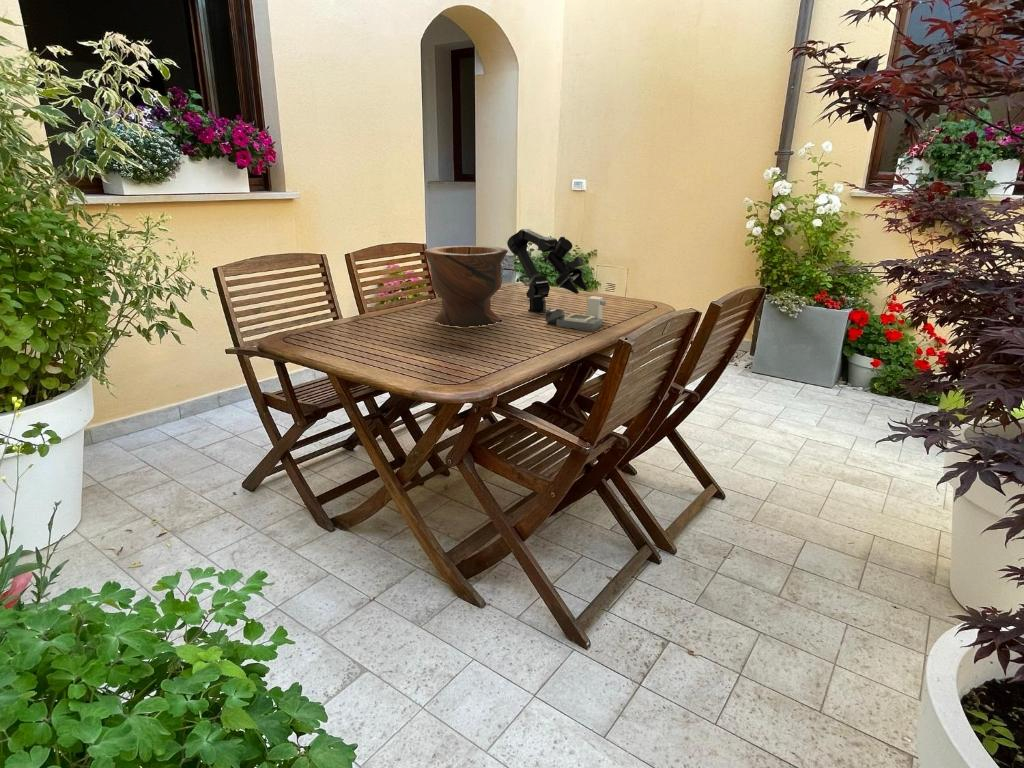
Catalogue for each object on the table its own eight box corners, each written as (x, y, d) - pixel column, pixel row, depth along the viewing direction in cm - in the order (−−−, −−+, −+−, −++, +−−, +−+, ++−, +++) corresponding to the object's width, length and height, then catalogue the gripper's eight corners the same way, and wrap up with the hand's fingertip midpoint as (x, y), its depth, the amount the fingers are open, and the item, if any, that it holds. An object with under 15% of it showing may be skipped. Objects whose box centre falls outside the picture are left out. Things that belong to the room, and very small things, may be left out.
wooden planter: (494, 309, 281) (493, 244, 271) (518, 326, 249) (519, 254, 240) (419, 314, 270) (416, 247, 261) (435, 333, 239) (432, 257, 229)
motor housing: (543, 325, 252) (543, 310, 250) (553, 320, 260) (553, 306, 258) (593, 331, 242) (593, 316, 240) (601, 326, 251) (602, 311, 249)
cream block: (586, 321, 258) (587, 298, 255) (590, 319, 262) (591, 296, 259) (602, 323, 255) (603, 299, 252) (606, 320, 259) (607, 297, 256)
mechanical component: (542, 298, 303) (542, 278, 300) (521, 298, 304) (522, 278, 300) (542, 297, 306) (542, 277, 303) (521, 297, 306) (522, 277, 303)
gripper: (562, 253, 247) (587, 282, 245) (580, 248, 262) (603, 276, 261) (544, 271, 253) (568, 300, 252) (563, 265, 268) (585, 292, 267)
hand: (582, 291), depth 258 cm, fingers open, 9 cm apart
